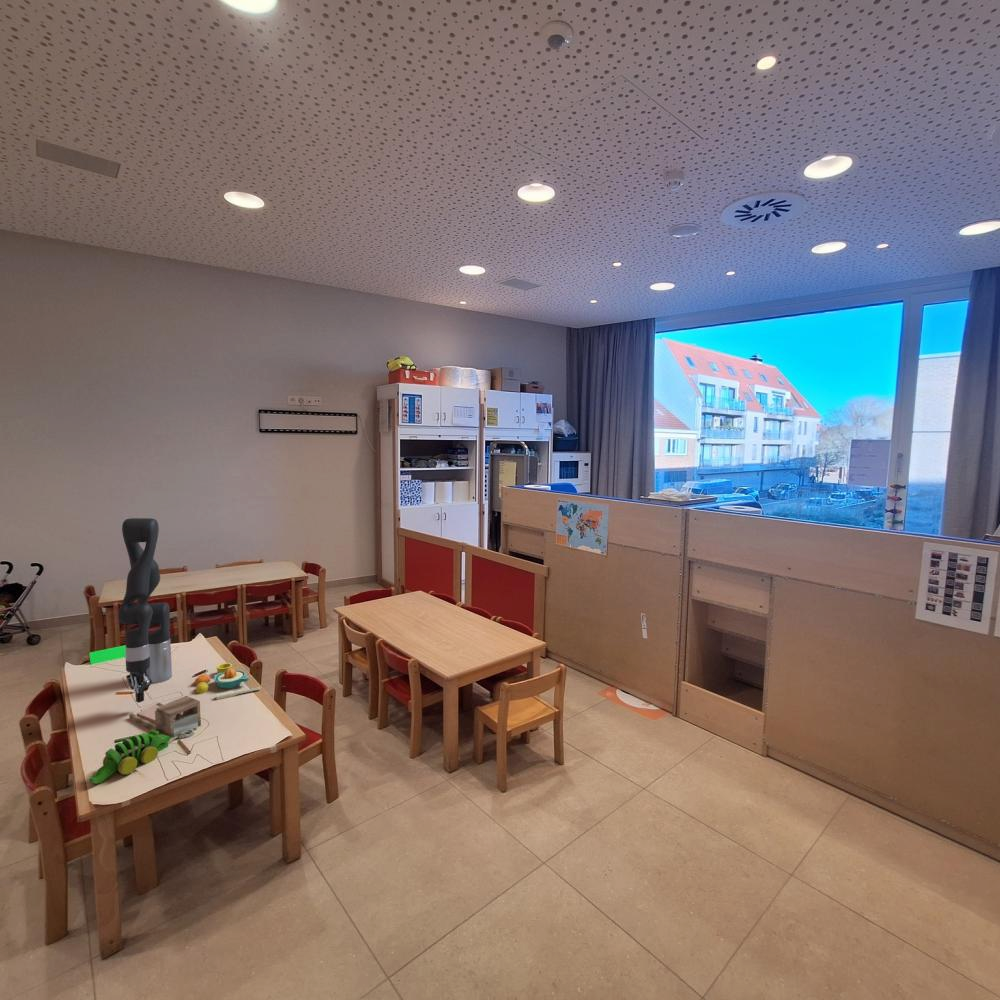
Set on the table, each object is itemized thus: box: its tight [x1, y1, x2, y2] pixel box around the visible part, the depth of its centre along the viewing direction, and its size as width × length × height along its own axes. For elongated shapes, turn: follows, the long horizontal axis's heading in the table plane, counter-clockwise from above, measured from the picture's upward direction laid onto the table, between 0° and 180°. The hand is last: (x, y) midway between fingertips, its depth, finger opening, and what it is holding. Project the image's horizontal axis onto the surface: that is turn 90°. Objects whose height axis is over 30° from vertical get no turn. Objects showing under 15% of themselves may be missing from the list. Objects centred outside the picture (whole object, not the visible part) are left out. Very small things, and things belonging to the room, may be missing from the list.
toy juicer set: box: [194, 662, 261, 701], centre depth 217 cm, size 29×18×8 cm, turn 53°
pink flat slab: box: [136, 704, 178, 724], centre depth 192 cm, size 12×7×3 cm, turn 65°
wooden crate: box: [128, 695, 202, 738], centre depth 190 cm, size 26×10×9 cm, turn 62°
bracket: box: [88, 644, 126, 665], centre depth 243 cm, size 20×10×7 cm, turn 132°
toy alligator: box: [88, 729, 195, 784], centre depth 170 cm, size 10×32×9 cm, turn 155°
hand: (140, 701), depth 197 cm, fingers closed
